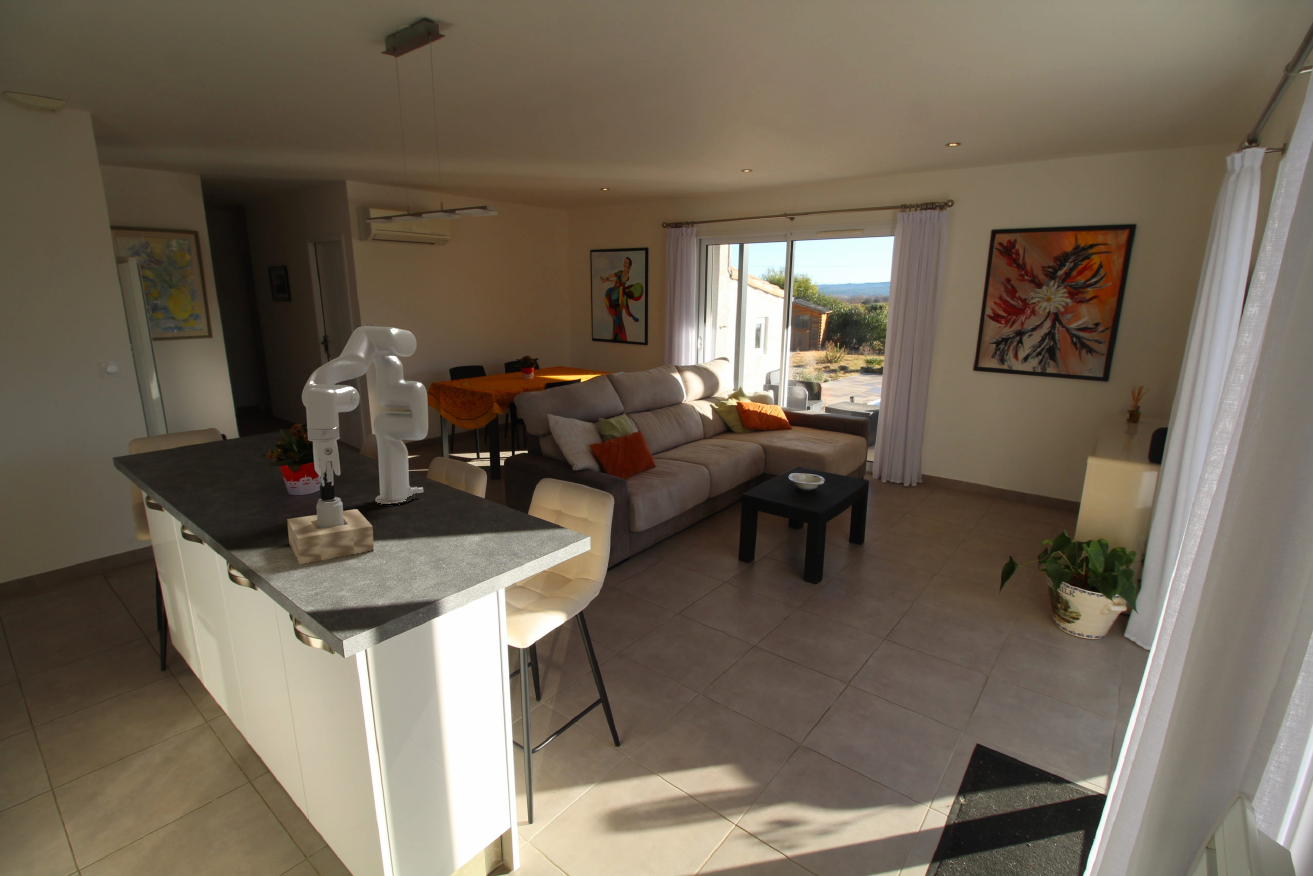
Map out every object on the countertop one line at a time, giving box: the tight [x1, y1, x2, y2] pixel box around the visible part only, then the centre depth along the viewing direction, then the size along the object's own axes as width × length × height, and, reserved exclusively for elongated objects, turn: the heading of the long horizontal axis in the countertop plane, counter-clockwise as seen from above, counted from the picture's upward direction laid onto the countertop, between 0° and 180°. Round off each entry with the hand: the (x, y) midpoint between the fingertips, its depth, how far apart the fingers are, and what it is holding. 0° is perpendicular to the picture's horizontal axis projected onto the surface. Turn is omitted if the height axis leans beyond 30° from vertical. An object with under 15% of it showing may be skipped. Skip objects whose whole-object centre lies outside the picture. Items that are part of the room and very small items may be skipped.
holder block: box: [286, 508, 374, 565], centre depth 170 cm, size 18×18×7 cm
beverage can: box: [315, 496, 344, 529], centre depth 168 cm, size 6×6×12 cm
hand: (327, 499), depth 168 cm, fingers closed
